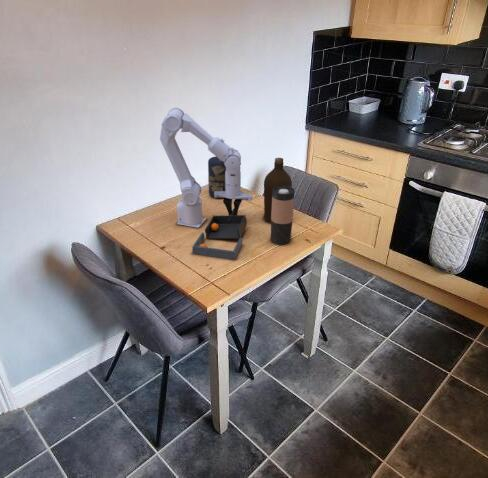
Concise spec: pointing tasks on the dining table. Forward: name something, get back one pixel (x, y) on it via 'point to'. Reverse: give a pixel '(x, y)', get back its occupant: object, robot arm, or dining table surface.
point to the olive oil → (274, 185)
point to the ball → (214, 227)
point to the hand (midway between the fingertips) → (233, 215)
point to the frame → (215, 252)
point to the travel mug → (282, 214)
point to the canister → (216, 175)
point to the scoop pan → (227, 226)
